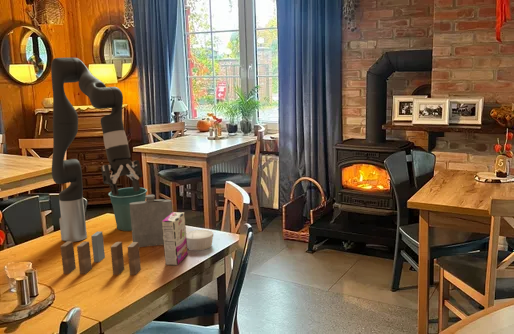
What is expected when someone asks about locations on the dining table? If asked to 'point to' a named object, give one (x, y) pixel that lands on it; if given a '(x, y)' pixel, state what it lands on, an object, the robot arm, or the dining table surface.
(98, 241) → the domino
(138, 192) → the flower pot
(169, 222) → the candy bar box
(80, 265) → the domino
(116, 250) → the domino
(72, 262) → the domino
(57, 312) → the dining table surface
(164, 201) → the hip flask
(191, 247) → the ramekin
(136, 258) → the domino
